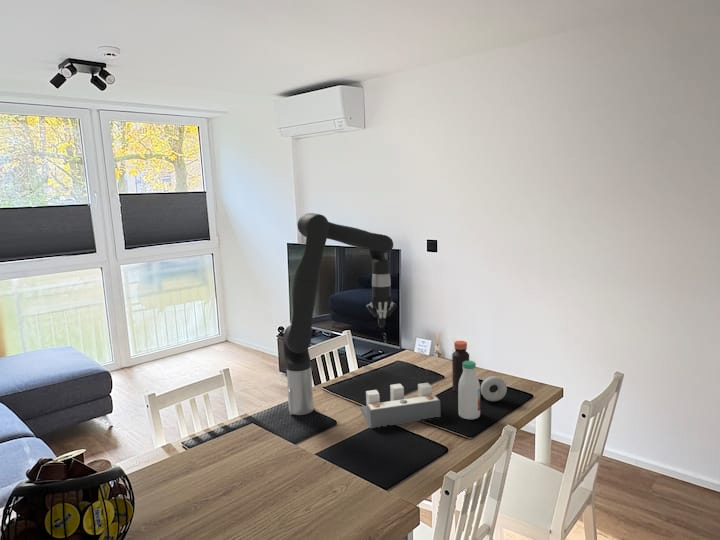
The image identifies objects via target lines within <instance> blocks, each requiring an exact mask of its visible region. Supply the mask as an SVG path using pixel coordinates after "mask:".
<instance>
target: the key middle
mask: <svg viewBox="0 0 720 540" xmlns="http://www.w3.org/2000/svg"><path fill="white" fill-rule="evenodd" d="M389 388H390V393H389V394H390V401H395V400H402V399H405V389H404V388H405V387H404V386H403V385H402V384H401V383H394V384H390V385H389Z"/></svg>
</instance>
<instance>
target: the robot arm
mask: <svg viewBox="0 0 720 540" xmlns="http://www.w3.org/2000/svg"><path fill="white" fill-rule="evenodd" d="M296 225H297V230H298V232H299V234H300V235H302V237H305V239H306V240H305V246H304V252H303V254H302V257H301V258H300V260H299V262H298V264H297V266H296V269H295V272H294V276H293V282H292V289H291V290H292V295H291V296H292V297H291V299H292V317H291V318H292V319H291V324H290V325H288V326H287V327H286V328H285V330H284V332H283V334H282V335H283V336H282V338H283V339H282V340H283V353H284V360H285V365H286V378H287V381H286V382H287V386H286V387H287V388H286V389H287V402H288V411H289V415H290V416H292V415H294V416H304V415H308V414H310V413H312V412H313V411H314V410H315V409H314V406H315V405H314V394H313V377H312V376H313V375H312V360H311V357H310V353H309V347H310V345H311V342H312V333H313V332H312V328H313V327H312V326H313V316H314V311H315V306H316V300H317V294H318V289H319V283H320V275H321V273H320V272H321V267H322V261H323V256H324V255H323V254H324V251H325V248H326V247H325V246H326V242H327V240H332V241H335V242H339V243H341V244H344V245H348V246H351V247H355V248H359V249H366V250H368V251H369V255H370V259H371V263H372V275H371V276H372V277H371V293H372V294H371V296H372V297H371V300H370V301H371V302H370V303H369V304H366V305H365V306H366V308H367V309H368V311H369V312H370V313H371V314H372V316H373V317H375V318H377V325H378V326H379V327H380V328H385V326H386V323H387V322H386V319H387V318H388V317H390V316H391V315H392V313H393V312H394V311H395V310H396V308H397V307H398V304H397V303H395V302H393V299H392V296H391V295H392V292H391V291H392V287H391V285H392V283H391V281H392V279H391V264H390V263H391V262H390V260H389V259H387V258H386V257H385V254H387V253H390V252H391V251H392V250H393V248H394V241H393V239H392V238H391V237H390V236H388V235H385V234H380V233H375V232H370V231H367V230H364V229H360V228H357V227H352V226H347V225H342V224H338V223H334V222H330V221H329V220H328V219H327V217H326V216H325V215H323V214H320V213H313V212H311V213H310V212H308V213H305V214H303V215H301V216H300V217H299V218H298V221H297V224H296ZM374 308H375V309H376V311H375V309H374Z"/></svg>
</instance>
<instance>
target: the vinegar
mask: <svg viewBox="0 0 720 540" xmlns="http://www.w3.org/2000/svg"><path fill="white" fill-rule="evenodd" d="M467 349H468V342H467V341H464V340H456V341H455V342H454V351H453V353H452V355H451V358H452V361H451V362H452V364H451V366H452V368H451V369H452V371H451V372H452V390H453V391H454V392H456V393H458V384H459V380H460V377H461V375H462V373H463V368H462V367H463V366H462V363H463V362H464V361H470V353H469V352H467Z"/></svg>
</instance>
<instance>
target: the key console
mask: <svg viewBox="0 0 720 540" xmlns="http://www.w3.org/2000/svg"><path fill="white" fill-rule="evenodd" d="M360 412H361V414H363V417H364V419H365V420H366V422H367V424H368V426H369V427H370V429H375V428H376V427H377V428H381V426H383V427H388V426H387V425H390V426H394V425H403V424H408V423H414V422H420V421H419V420H421V419H427V418H434V417H442V415H441V413H442V412H441V400H440V398H438V396H437V395H435V394H432V395H430V396H423V397H418V396H415V397H410V398H409V397H408V398H404V399H402V400H395V401H391V400H388V401H383V402H382V401H380V403H374V404H368V405H363V406H360Z"/></svg>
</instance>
